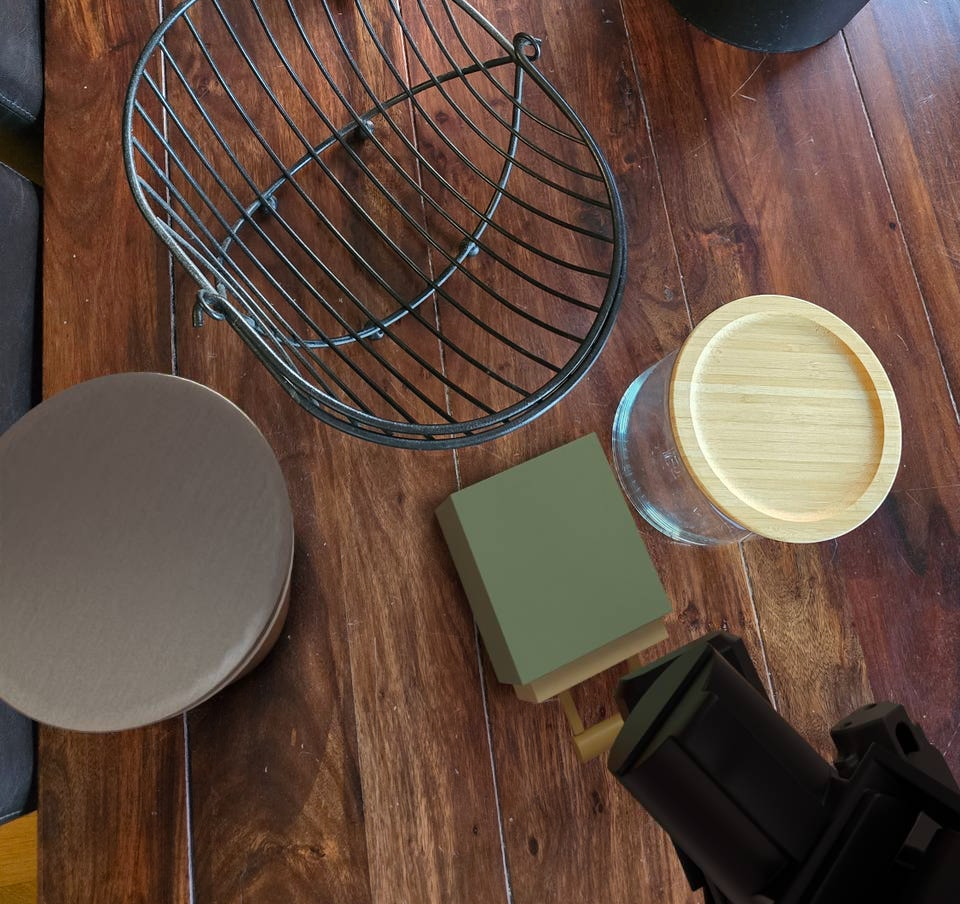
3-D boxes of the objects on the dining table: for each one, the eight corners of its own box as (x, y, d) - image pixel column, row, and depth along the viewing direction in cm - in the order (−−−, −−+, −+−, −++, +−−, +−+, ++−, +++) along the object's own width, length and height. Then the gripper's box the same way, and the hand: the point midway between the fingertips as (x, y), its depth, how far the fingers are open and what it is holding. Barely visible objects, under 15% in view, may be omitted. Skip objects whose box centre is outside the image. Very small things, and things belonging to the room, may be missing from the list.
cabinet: (636, 614, 72) (673, 610, 65) (499, 682, 70) (522, 686, 62) (566, 452, 76) (595, 431, 69) (434, 510, 74) (449, 494, 66)
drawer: (668, 704, 70) (700, 709, 64) (544, 770, 67) (568, 780, 62) (576, 487, 75) (599, 474, 69) (458, 540, 72) (472, 531, 67)
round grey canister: (174, 479, 72) (66, 316, 37) (319, 549, 72) (350, 450, 36) (86, 646, 67) (-134, 641, 32) (241, 723, 67) (189, 802, 32)
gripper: (1157, 1093, 41) (940, 984, 55) (887, 570, 48) (754, 588, 62) (911, 1282, 38) (745, 1115, 52) (659, 689, 45) (572, 681, 59)
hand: (708, 852), depth 56 cm, fingers closed
